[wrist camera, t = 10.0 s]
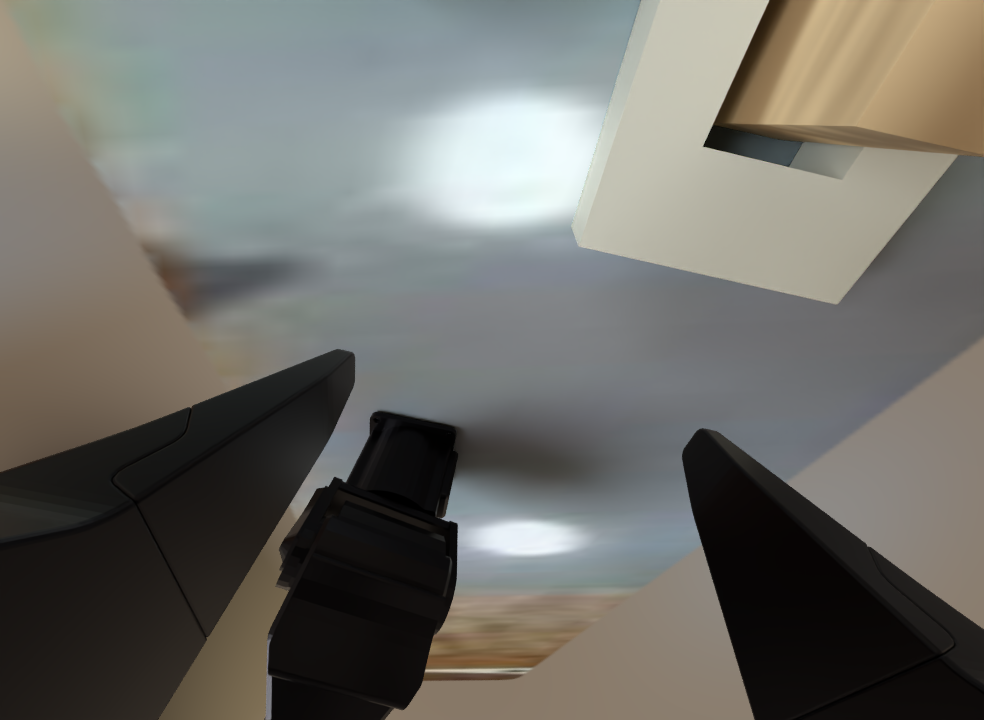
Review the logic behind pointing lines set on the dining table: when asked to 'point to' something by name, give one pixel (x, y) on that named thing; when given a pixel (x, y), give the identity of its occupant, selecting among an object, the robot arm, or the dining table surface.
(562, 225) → the dining table surface
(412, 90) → the dining table surface
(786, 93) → the wooden bar
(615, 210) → the well block
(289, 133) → the dining table surface
